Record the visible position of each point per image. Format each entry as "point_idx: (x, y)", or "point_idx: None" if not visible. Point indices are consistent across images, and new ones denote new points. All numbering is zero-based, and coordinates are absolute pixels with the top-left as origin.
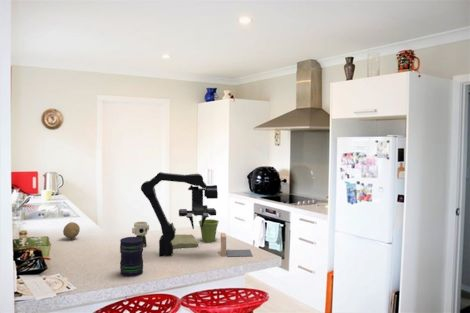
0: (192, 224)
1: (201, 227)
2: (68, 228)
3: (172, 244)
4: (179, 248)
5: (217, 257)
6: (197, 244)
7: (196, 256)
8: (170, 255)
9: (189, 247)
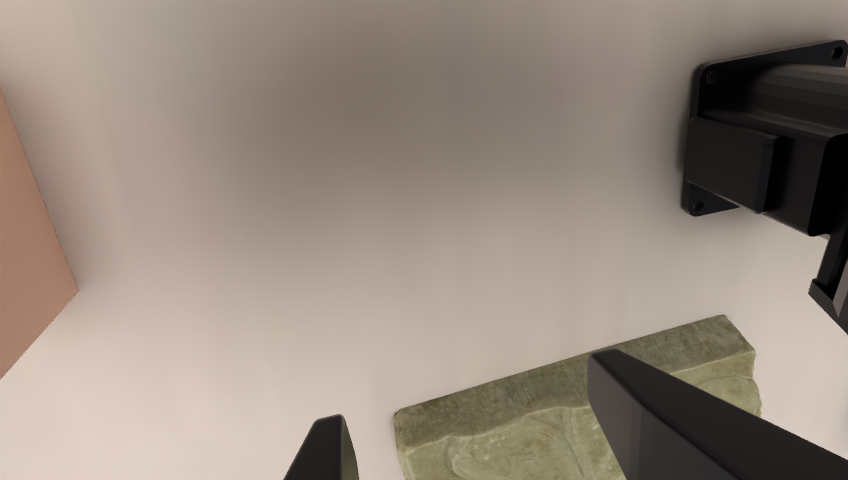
0: (766, 451)
1: (329, 450)
2: None
3: (687, 367)
4: (589, 353)
5: (41, 4)
6: (407, 436)
7: (384, 61)
8: (718, 61)
9: (488, 387)
